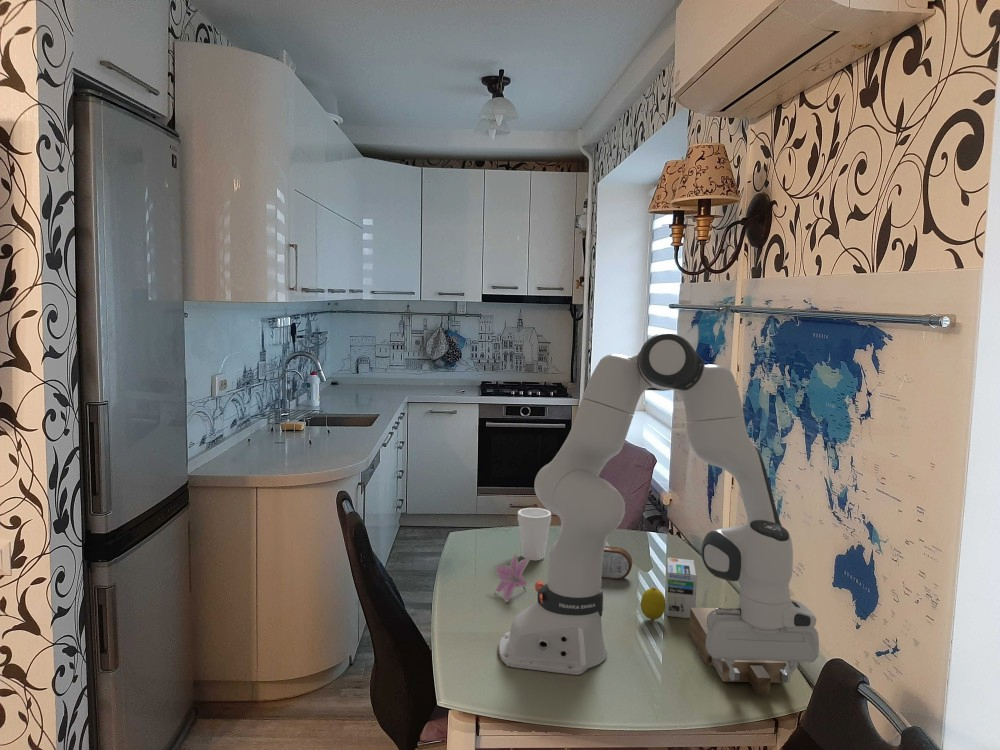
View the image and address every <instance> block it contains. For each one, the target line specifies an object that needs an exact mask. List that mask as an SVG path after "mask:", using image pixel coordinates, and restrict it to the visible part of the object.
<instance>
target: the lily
mask: <svg viewBox="0 0 1000 750" xmlns="http://www.w3.org/2000/svg"><path fill="white" fill-rule="evenodd" d="M529 563H530V558H526V559H524V558H523V559H521V560H520V561H518V555H517V553H515V554H514V555H513V557H512V558H511V561H510V563H509V565H506V564H503V565H498V566H496V567H495V569H494V571H495V573H496V576H497V578H498V579H499V580H500V582H499V583H498V585H497V587H496V589H495V591H498V593H501V592H503V593H502V594H503V599H505V600H506V601H508V602H509V601H510V599H511V596H512V594H513V591H514V589H515V588H523V590H524V591H525V590H526V588H525V587H527V586H528V583H527V582H526V579H525V577H524V576H523V575H522V574H523V573H524V571H525V569H526V567H527V565H528V564H529ZM526 591H527V590H526ZM505 600H504V601H505Z"/></svg>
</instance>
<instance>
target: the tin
mask: <svg viewBox="0 0 1000 750" xmlns="http://www.w3.org/2000/svg"><path fill="white" fill-rule="evenodd" d="M632 567H633V558H632V557H631V555H630V553H629V552H628V551H627V550H626V549H624V548H623V547H617V546H610V545H609V546H608V545H605V548H604V552H603V559H602V577H601V579H607V580H614V581H615V580H616V581H618V580H623V579H625V578H626V577H628V576H629V574H630V573H631V570H632Z"/></svg>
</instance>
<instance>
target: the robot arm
mask: <svg viewBox="0 0 1000 750" xmlns="http://www.w3.org/2000/svg"><path fill="white" fill-rule="evenodd" d="M645 391H658V392H659V391H660V392H663V391H664V392H665V391H666V392H667V391H675V392H676V393H678V395H680V397H681V399H682V401H683V405H684V410H685V418H686V419H685V420H686V429H687V436H688V441H689V444H690V448H691V449H692V451H693V453H694V454H695V455H696V456H697V457H698V458H699V459H701V460H702V461H704V462H705V463H707V464H709V465H711V466H714V467H716V468H719V469H722V470H724V471H726V472H728V473H729V474H731V475H732V476H733V478H735V481H736V482H737V484H738V486H739V490H740V495H741V497H742V503H743V506H744V510H745V514H746V517H747V518H746V519H747V520H746V523H745V524H743V525H736V526H728V527H723V528H722V527H721V528H718V529H714V530H710V531H709V532H708V533H706V535H705V536H704V538H703V540H702V543H701V548H700V549H701V551H700V553H701V558H702V562H703V564H704V566H705V568H706V569H707V571H708V572H709V573H710V574H711V575H712V576H713V577H715V578H718V579H722V580H725V581H730V582H737V583H738V584H739V585H740V588H739V600H738V601H739V605H738V608H734V607H732V608H731V607H730V608H728V609H723V608H724V607H723V608H722V607H715V608H716V609H715V610H713V611H711V612H710V613H709V614H708V616H707V627H708V631H707V636H706V644H705V646H706V649H707V651H708V653H709V654H710V656H711V657H712V658H714V659H724V660H725V662H726V664H727V666H728V667H729V678H730V680H731V681H730V682H733V681H739V676H740V672H739V671H738V669H737V668H733V667H732V665H731V664H734V663H735V659H739V660H768V661H785V662H786V666H785V668H784V670H779V673H780V675H779V679H780V680H781V682H785V683H790V682H791V675H792V674H793V673H794V671H795V670H796V669H797V668H798V666H799V665H798V664H799V662H800V663H801V662H804V663H814V662H815V661H816V660H817V659H818V658H819V654H820V640H819V639H820V638H819V632H818V631H817V629H816V628H815V626H816V624H817V617H816V616H815V614H814V613H813V612H812V611H811V609H809V607H808V606H807V605H805V604H804V603H802V602H801V601H797V600H794V599H791V593H790V582H791V580H792V577H793V568H794V567H793V566H794V565H793V564H794V550H793V549H794V547H793V541H792V538H791V534H790V533H789V531H788V530H787V529H786V528H785V527H783V525H782V523H781V521H780V518H779V514H778V511H777V507H776V504H775V499H774V496H773V492H772V488H771V484H770V481H769V476H768V472H767V468H766V465H765V462H764V460H763V457H762V455H761V452H760V451H759V449H758V448H757V447H756V446H755V445H754V444H753V442H752V441H751V439H750V436H749V434H748V431H747V427H746V423H745V418H744V410H743V406H742V400H741V395H740V392H739V387H738V385H737V382H736V378H735V376H734V374H733V373H732V371H731V370H730V369H729V368H727V367H725V366H723V365H720V364H705V361H704V360H703V359H702V358H701V356H700V355H699V354H698V352H697V351H696V350H695V349H694V347H693V345H692V344H691V343H690V342H689V341H688V340H687V339H686V338H685V337H683V336H682V335H680V334H677V333H673V332H661V333H657V334H655V335H653V336H651V337H649V338H648V339H647V340H646V341H645V342H644V343H643V345H642V346H641V349H640V351H639V352H638V353H637V354H636V355H633V356H628V355H624V354H619V353H611V354H607V355H605V356H603V357H602V358H601V359H600V360H599V361H598V363H597V365H596V366H595V368H594V370H593V371H592V374H591V376H590V378H589V380H588V381H587V385H586V386H585V390H584V392H583V395H582V398H581V400H580V403H579V406H578V409H577V412H576V415H575V417H574V420H573V423H572V426H571V429H570V431H569V433H568V435H567V437H566V439H565V440H564V442H563V444H562V446H561V447H560V449H559V451H557V453H556V455H555V456H554V457H553V458H552V460H551V461H549V463H547V464H545V465H544V466H543V467H541V468H540V469H539V471H538V472H537V474H536V476H535V479H534V485H533V486H534V487H533V488H534V493H535V495H536V496H537V499H538V500H539V501H540V502H541V504H542V505H543V506H544V508H545V509H546V510H548V511H550V512H551V514H552V513H553V514H554V515H556V516H557V517H559V519H560V524H561V525H560V530H559V534H558V537H557V539H556V541H555V542H554V543H553V544H552V545H551V546H550V548H549V550H548V566H547V567H548V569H547V583H544V581H542V580H536V582H535V584H534V587H535V588H534V589H535V591H536V592H537V601H535V602H534V603H532V604H531V605H529V606H528V607H526V608H524V609H523V610H521V611H520V612H518V613H517V614H516V615H515V617H514V618H513V621H512V623H511V628H510V631H507V632H505V633H504V634H503V635H502V636H501V637H500V640H499V644H498V655H499V654H500V656H499V658H500V657H501V659H502V660H501V659H500V660H501V662H502V661H503V662H504V663H505V664H506V665H505V664H504V663H503V662H502V663H503V664H504V665H505V666H506V667H509V666H510V668H516V669H526V670H534V671H540V672H541V671H542V672H551V673H557V674H565V675H575V676H577V675H581V674H583V673H585V672H586V671H587V670H588V669H590V668H593V667H596V666H598V665H600V664H601V663H603V662H604V661H605V660H606V658H607V655H608V653H607V649H606V645H605V642H604V636H603V628H602V616H603V611H604V591H603V587H602V578H601V577H602V559H603V552H604V548H605V546H606V544H607V541H608V539H609V536H610V534H611V533H612V532H613V531H615V530H616V529H617V528H618V527H619V526H620V525H621V523H622V522H623V519H624V517H625V512H626V503H625V499H624V497H623V496H622V494H621V493H620V491H619V490H618V489H617V488H616V487H615V486H614V485H613V484H611V482H609V481H608V480H606V479H605V478H602V477H601V476H600V473H601V472H602V470H603V468H604V467H605V465H606V464H607V463H608V462H609V461H610V459H612V458H613V457H615V456H617V455H618V454H620V452H621V451H622V449H623V447H624V445H625V443H626V439H627V436H628V433H629V429H630V426H631V424H632V420H633V418H634V416H635V412H636V408H637V406H638V404H639V403H638V402H639V400H640V398H641V396H642V394H643V393H644V392H645ZM714 612H716V613H714ZM505 638H507V639H505Z"/></svg>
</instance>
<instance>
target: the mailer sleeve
mask: <svg viewBox="0 0 1000 750" xmlns="http://www.w3.org/2000/svg"><path fill="white" fill-rule="evenodd" d="M716 608H717V607H695V608H690V618H689V629H688V634H689V636H690V637H691V639H693V640H692V641H693V643H694V646H695V647H696V649H697V651H698V653H699V654H700V656H701V658H702V659H703V660H702V661H703V662H704V664H705V665H706V666H714V665H713V663H712V661H711V659H710V654H709V653H708V651H707V649H706V646H705V644H706V636H707V631H708V627H707V616H708V614H709V613H710V612H711V611H713V610H715V609H716ZM723 609H728V608H727V607H725V608H724V607H723ZM714 613H716V612H714Z"/></svg>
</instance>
